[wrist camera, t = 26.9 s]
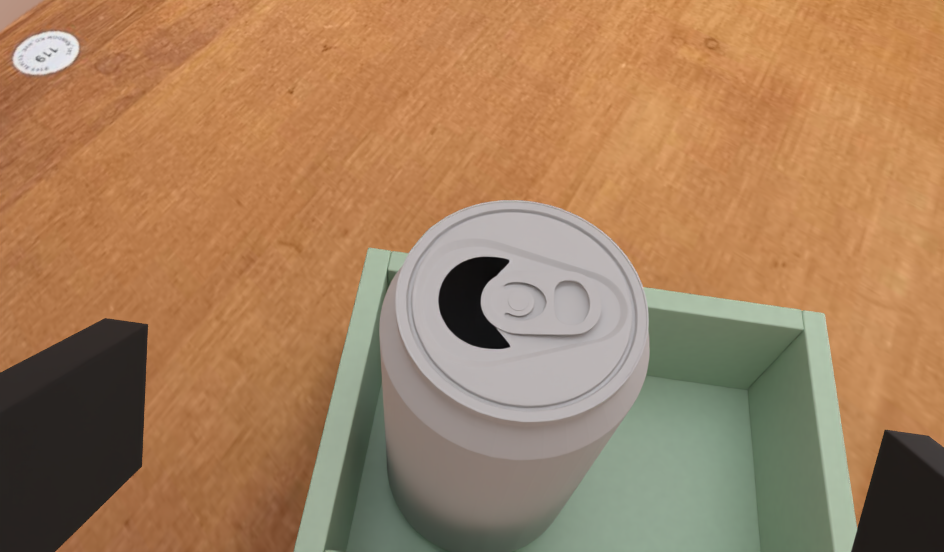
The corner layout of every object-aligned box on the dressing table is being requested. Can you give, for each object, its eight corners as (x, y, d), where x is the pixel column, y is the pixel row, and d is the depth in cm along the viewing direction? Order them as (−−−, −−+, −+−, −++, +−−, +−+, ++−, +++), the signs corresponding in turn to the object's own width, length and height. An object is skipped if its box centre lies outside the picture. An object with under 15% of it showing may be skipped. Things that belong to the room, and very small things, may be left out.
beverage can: (395, 381, 28) (387, 176, 18) (563, 389, 28) (651, 192, 18) (380, 558, 25) (360, 429, 14) (572, 566, 25) (685, 445, 15)
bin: (312, 609, 24) (287, 575, 19) (375, 327, 30) (368, 247, 25) (784, 679, 24) (878, 662, 19) (757, 383, 30) (825, 312, 25)
